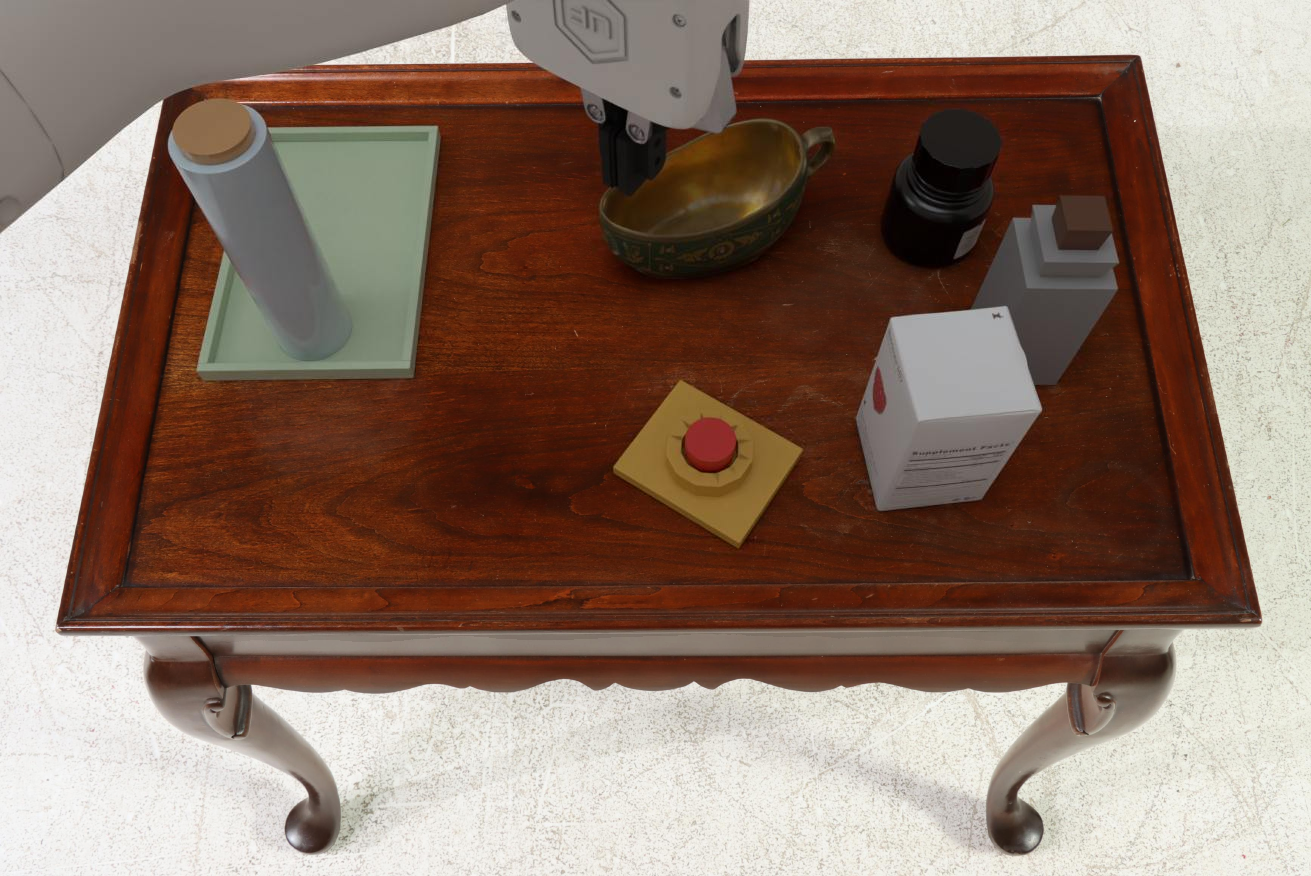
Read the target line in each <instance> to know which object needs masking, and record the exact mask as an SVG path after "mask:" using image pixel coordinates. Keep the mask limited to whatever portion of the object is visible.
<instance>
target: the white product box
mask: <svg viewBox="0 0 1311 876" xmlns="http://www.w3.org/2000/svg"><path fill="white" fill-rule="evenodd" d="M877 353H878V354H877V356H876V359H875V362H874V365H873V367H872V371H871V374H870V376H869V379H868V382H867V385H866V388H865V391H864V394H863V396H862V399H861V402H860V405H859V408H858V411H857V413H856V416H855V422H856V426H857V431H858V435H859V439H860V443H861V448H862V453H863V455H864V456H863V457H864V460H865V465H866V470H867V473H868V477H869V482H870V486H871V490H872V495H873V499H874V503H875V508H876V510H877V511H879V512H885V511H894V510H904V509H913V508H920V507H930V506H938V505H947V504H954V503H955V504H956V503H965V502H973V501H981V500H982V499H984V496H985V495H986V494H987V492H988V491H989V489H990V488H991V486H992V485H993V483H994V482H995V480H996V479H997V477H998V476H999V474H1000V473H1001V471H1002V469H1004V467H1005V466H1006V464H1007V462H1008V461H1009V459H1010V457H1011V456H1012V455H1013V453H1014V452H1015V451H1016V450H1017V447H1018V446H1019V444H1020V443H1021V441H1022V440H1023V438H1024V437H1025V436H1026V435H1027V433H1028V431H1029V430H1030V428H1031V427H1032V425H1033V424H1034V422H1035V421H1036V419H1037V418H1038V417H1039V415H1040V414H1041V413H1042V411H1043V407H1042V404H1041V401H1040V399H1039V396H1038V392H1037V390H1036V387H1035V386H1036V385H1034V384H1033V381H1032V378H1031V375H1030V372H1029V369H1028V366H1027V359H1026V356H1025V353H1024V351H1023V349H1022V347H1021V345H1020V342H1019V339H1018V336H1017V333H1016V330H1015V327H1014V324H1013V321H1012V318H1011V315H1010V312H1009V309H1008V307H1007V306H1002V307H994V308H984V309H975V310H971V309H967V310H966V309H965V310H955V311H945V312H933V313H932V312H931V313H919V314H918V313H917V314H909V315H908V314H907V315H901V316H892V317H890V319H889V322H888V324H887V328H886V330H885V333H884V337H883V339H882V341H881V344H880V347H879V350H878V352H877Z"/></svg>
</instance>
